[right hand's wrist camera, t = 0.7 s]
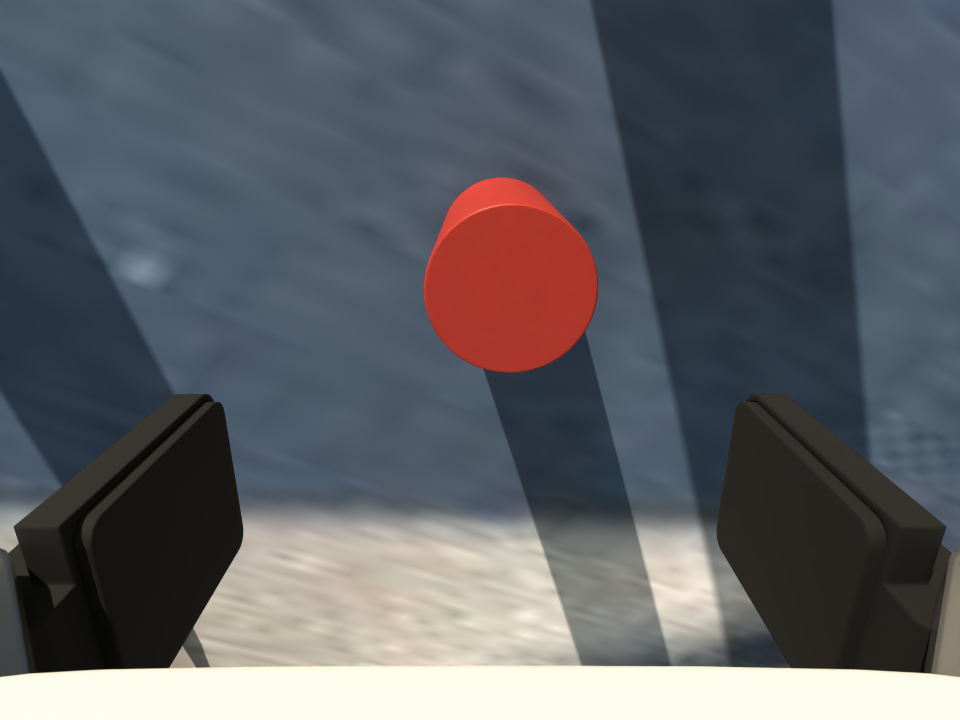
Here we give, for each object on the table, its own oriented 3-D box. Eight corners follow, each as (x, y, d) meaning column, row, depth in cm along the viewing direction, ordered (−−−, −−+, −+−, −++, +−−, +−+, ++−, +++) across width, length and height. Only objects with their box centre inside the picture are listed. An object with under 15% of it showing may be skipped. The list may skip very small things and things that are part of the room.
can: (421, 258, 28) (392, 321, 19) (480, 154, 27) (481, 167, 17) (518, 314, 29) (537, 401, 20) (581, 217, 28) (633, 263, 18)
